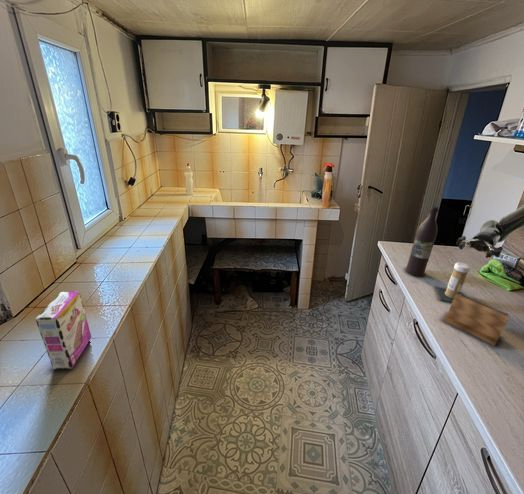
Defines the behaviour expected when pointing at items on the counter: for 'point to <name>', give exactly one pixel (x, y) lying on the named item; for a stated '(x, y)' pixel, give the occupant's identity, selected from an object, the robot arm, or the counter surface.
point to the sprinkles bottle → (457, 279)
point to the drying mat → (443, 296)
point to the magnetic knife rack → (476, 318)
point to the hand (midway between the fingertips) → (473, 251)
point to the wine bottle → (423, 244)
